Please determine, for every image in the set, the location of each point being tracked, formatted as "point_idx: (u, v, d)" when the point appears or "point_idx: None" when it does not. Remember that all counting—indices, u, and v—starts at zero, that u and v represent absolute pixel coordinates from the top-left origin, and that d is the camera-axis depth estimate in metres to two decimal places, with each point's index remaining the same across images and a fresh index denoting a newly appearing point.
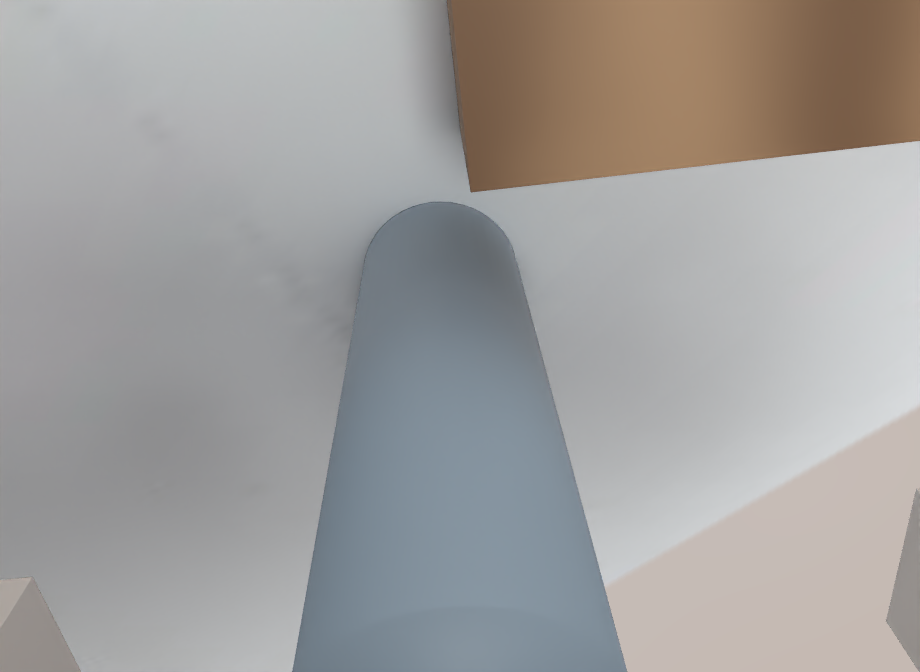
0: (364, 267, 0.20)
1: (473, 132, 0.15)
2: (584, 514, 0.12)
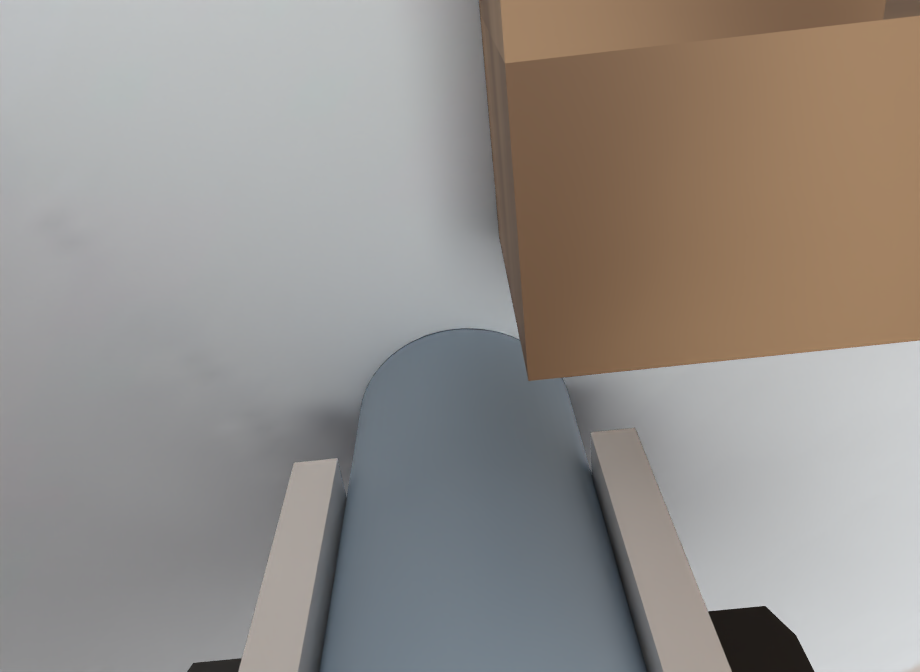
0: (360, 424, 0.14)
1: (536, 292, 0.09)
2: None
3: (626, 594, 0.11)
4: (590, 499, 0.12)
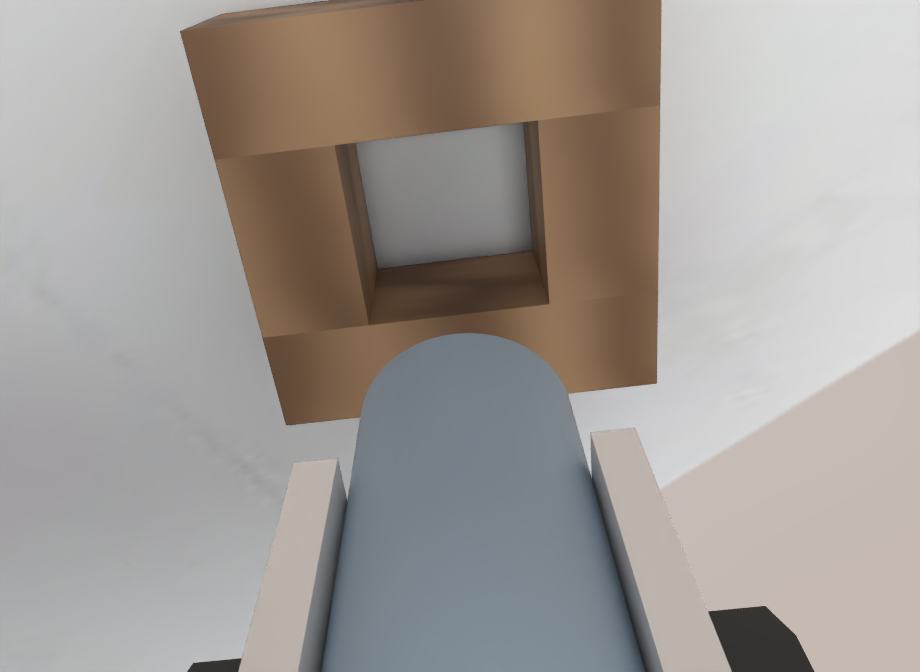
0: (360, 428, 0.14)
1: (283, 398, 0.28)
2: None
3: (626, 594, 0.11)
4: (590, 504, 0.12)
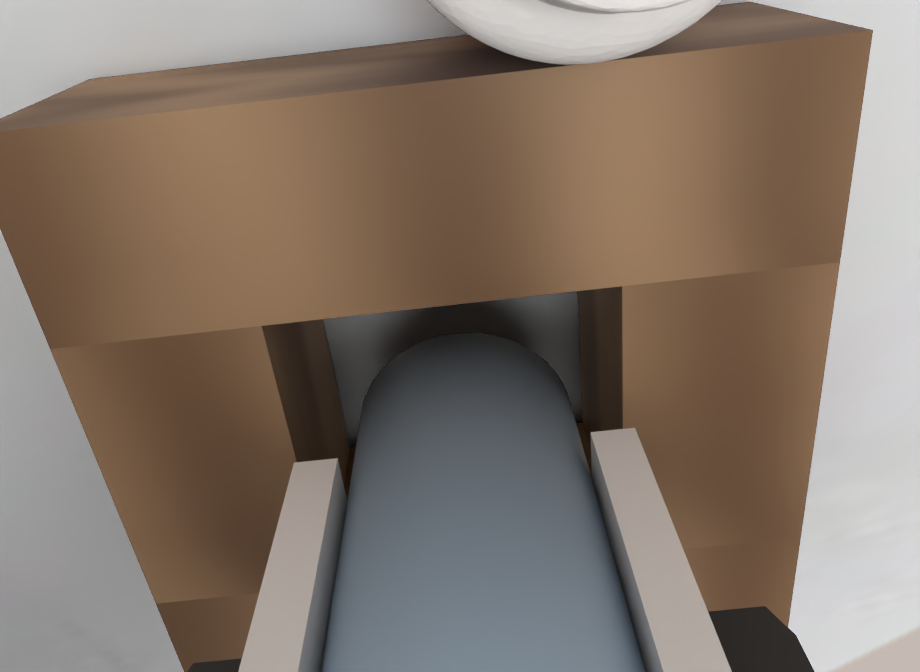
0: (360, 428, 0.14)
1: None
2: None
3: (626, 594, 0.11)
4: (590, 503, 0.12)
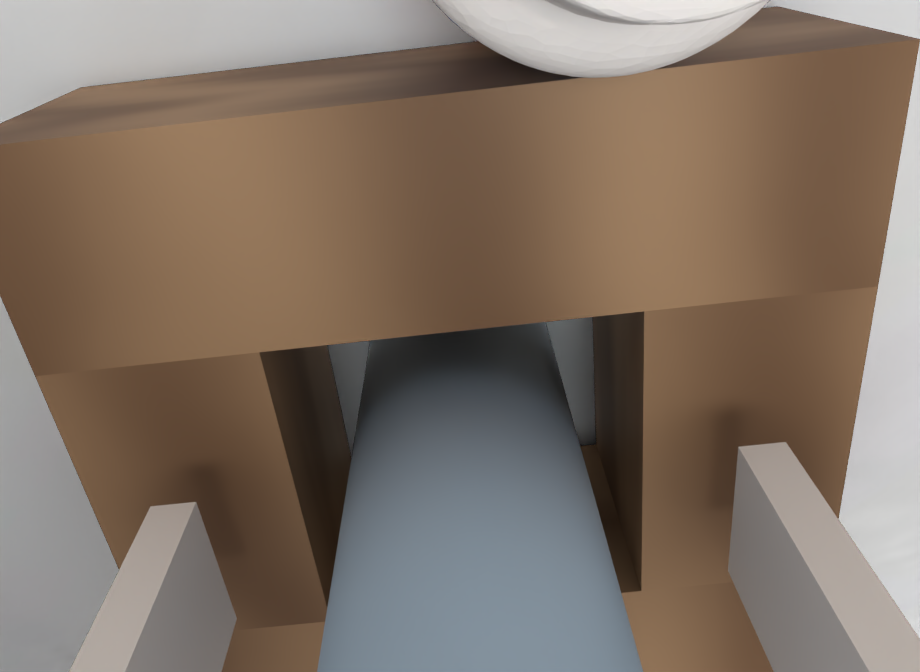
0: (370, 349, 0.17)
1: None
2: None
3: (807, 624, 0.10)
4: (559, 396, 0.14)
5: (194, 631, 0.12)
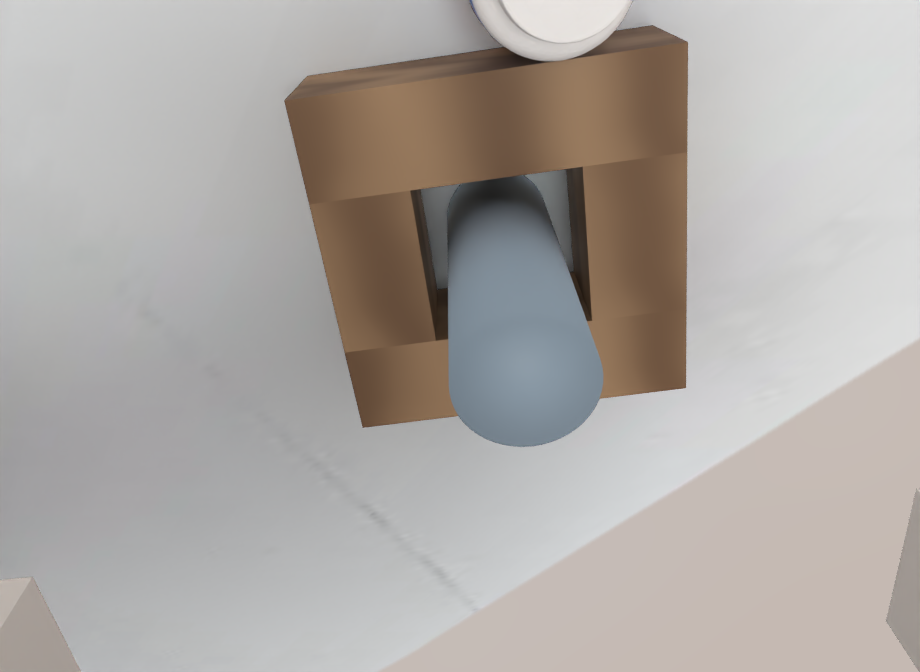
0: (450, 210, 0.33)
1: (361, 404, 0.33)
2: None
3: None
4: (547, 218, 0.30)
5: None
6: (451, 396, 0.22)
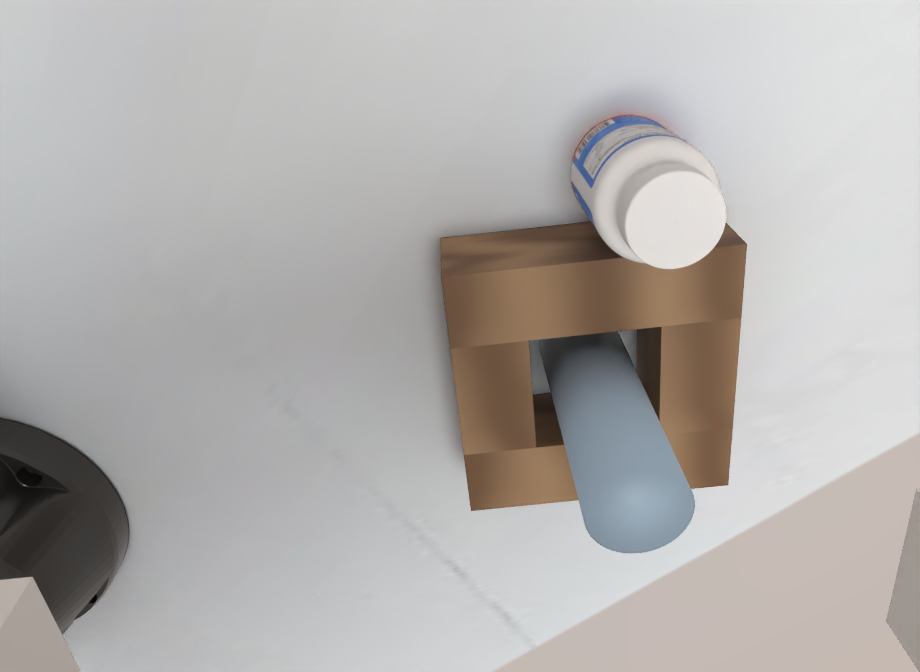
0: (545, 340, 0.41)
1: (472, 493, 0.41)
2: None
3: None
4: (629, 357, 0.38)
5: None
6: (585, 519, 0.30)
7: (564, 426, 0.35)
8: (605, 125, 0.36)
